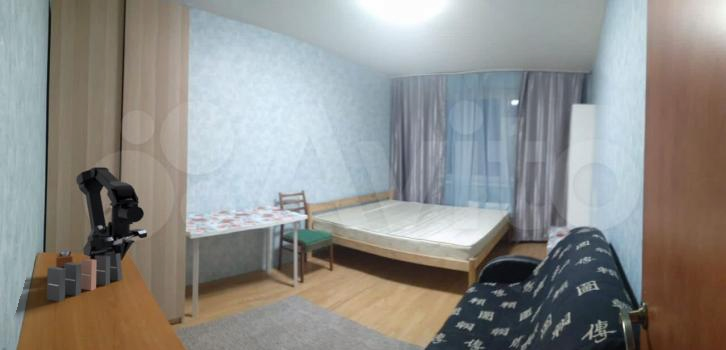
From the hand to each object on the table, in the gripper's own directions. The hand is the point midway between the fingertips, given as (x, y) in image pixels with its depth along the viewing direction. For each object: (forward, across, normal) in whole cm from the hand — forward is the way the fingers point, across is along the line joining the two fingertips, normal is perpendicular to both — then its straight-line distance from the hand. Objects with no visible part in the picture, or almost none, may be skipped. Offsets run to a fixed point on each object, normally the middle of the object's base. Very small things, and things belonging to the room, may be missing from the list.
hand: (120, 260), depth 131 cm
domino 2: (+7, +17, 0) cm, 18 cm away
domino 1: (+7, +22, 0) cm, 23 cm away
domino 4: (+7, +7, 0) cm, 10 cm away
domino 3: (+7, +12, 0) cm, 14 cm away
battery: (+7, +8, -16) cm, 19 cm away
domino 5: (+6, +2, 0) cm, 7 cm away
